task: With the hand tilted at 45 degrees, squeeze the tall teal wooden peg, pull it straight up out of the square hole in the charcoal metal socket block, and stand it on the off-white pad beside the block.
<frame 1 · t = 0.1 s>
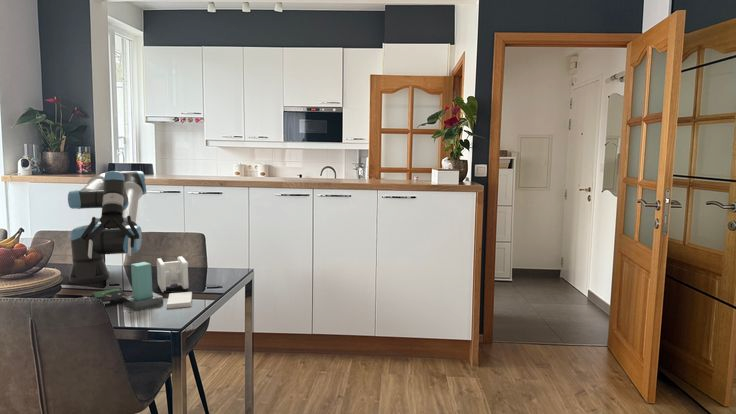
hand: (109, 256, 197), 15 cm above the table, tool tilted 35°, fingers open, 13 cm apart
socket block: (143, 304, 187), on the table
disk drive: (109, 301, 193), on the table
off-white pad: (180, 301, 191), on the table
cable organizer: (173, 288, 210), on the table
teal peg: (142, 284, 187), in the socket block
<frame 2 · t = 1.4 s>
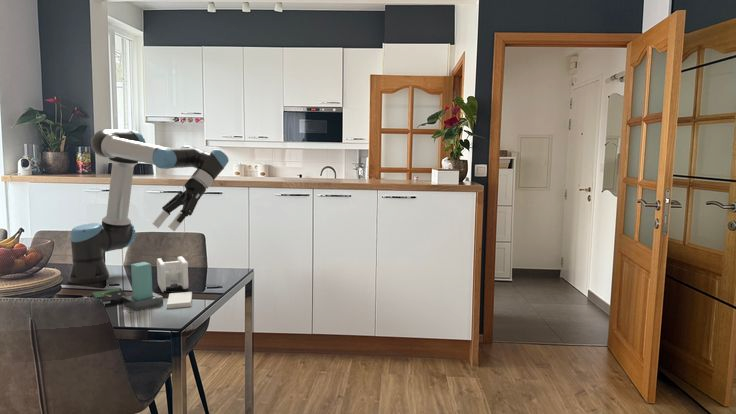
hand: (163, 227, 191), 27 cm above the table, tool tilted 45°, fingers open, 13 cm apart
nothing on the table moved.
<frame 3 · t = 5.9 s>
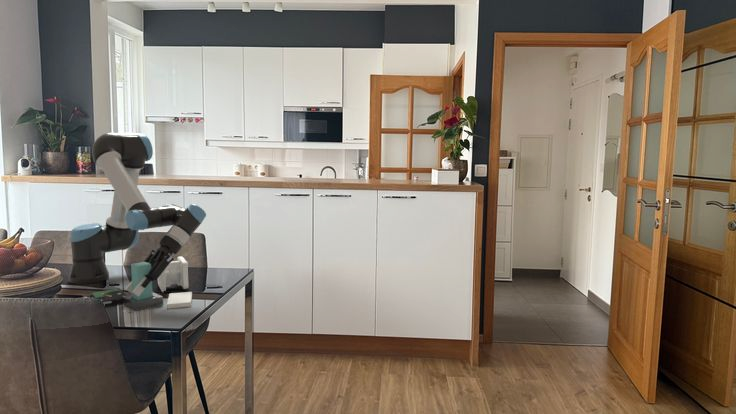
hand: (132, 292, 184), 5 cm above the table, tool tilted 45°, fingers closed on teal peg, 5 cm apart
teal peg: (142, 284, 187), in the socket block, touching gripper
everything else where it was.
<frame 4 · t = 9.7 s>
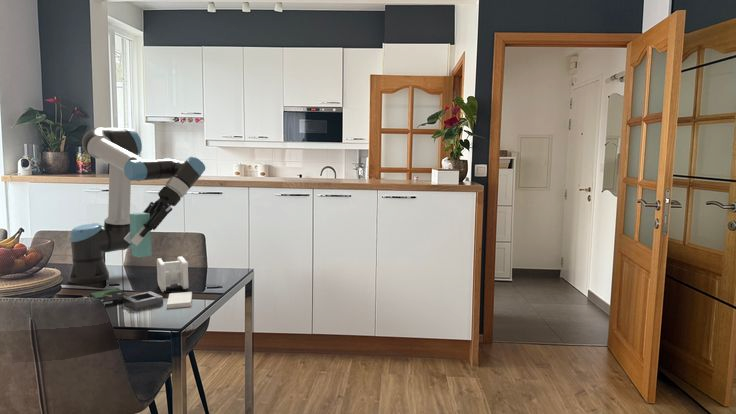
hand: (130, 242, 182), 23 cm above the table, tool tilted 45°, fingers closed on teal peg, 5 cm apart
teal peg: (140, 234, 184), point 26 cm above the table, touching gripper
everything else where it was.
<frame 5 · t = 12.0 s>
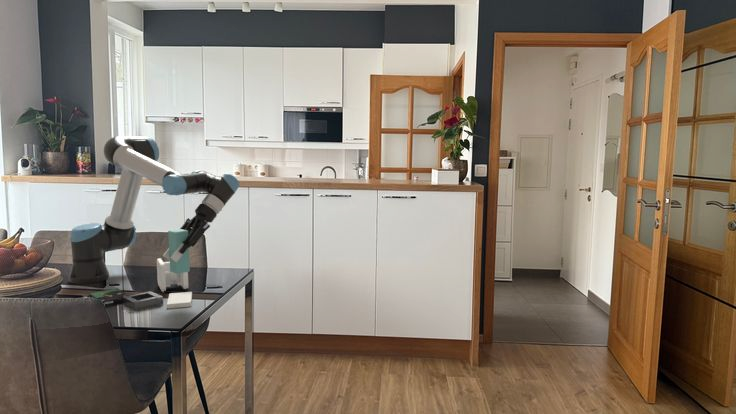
hand: (169, 258, 186), 17 cm above the table, tool tilted 45°, fingers closed on teal peg, 5 cm apart
teal peg: (179, 251, 189), point 19 cm above the table, touching gripper
everything else where it was.
when the fingers open (8 cm above the table, at t = 13.8 s): teal peg drops 1 cm, resting on off-white pad.
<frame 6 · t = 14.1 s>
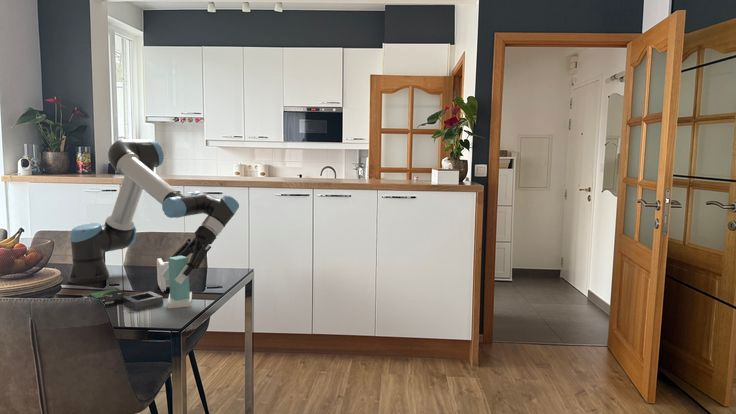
hand: (170, 279, 188), 9 cm above the table, tool tilted 45°, fingers open, 9 cm apart
teal peg: (179, 277, 190), on the off-white pad, point 9 cm above the table
everything else where it was.
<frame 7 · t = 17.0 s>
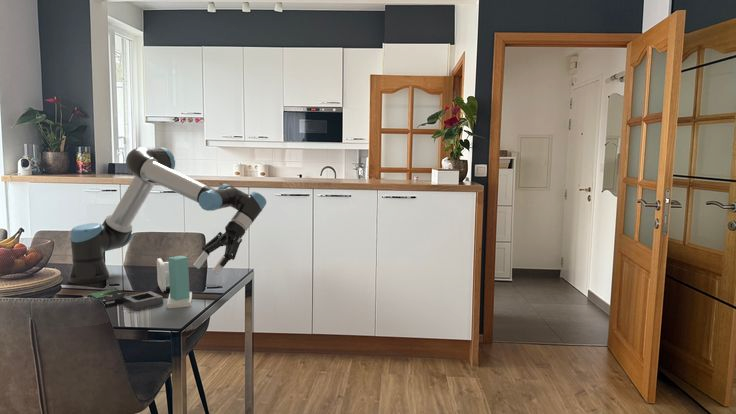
hand: (205, 269, 198), 10 cm above the table, tool tilted 45°, fingers open, 13 cm apart
nothing on the table moved.
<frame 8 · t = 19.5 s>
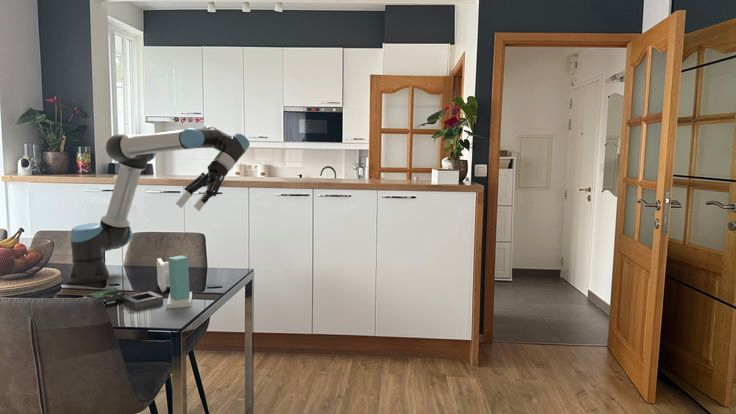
hand: (187, 207, 197), 34 cm above the table, tool tilted 45°, fingers open, 13 cm apart
nothing on the table moved.
at the end: teal peg inside the target area on the off-white pad (0.0 cm from its centre), point 9.0 cm above the off-white pad's base; teal peg tilted 0°; teal peg touching off-white pad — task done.
